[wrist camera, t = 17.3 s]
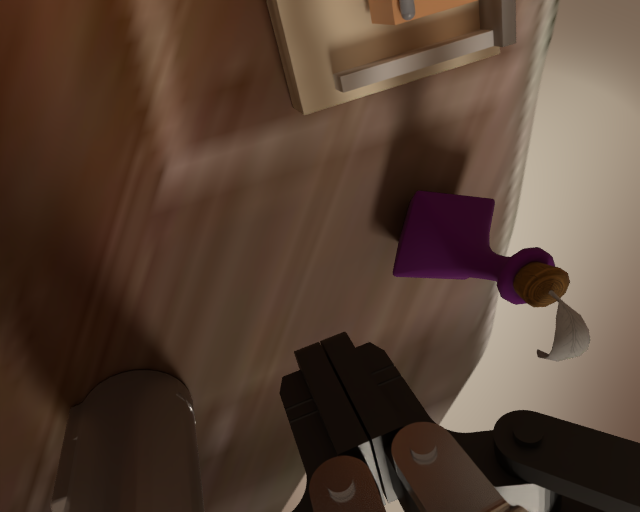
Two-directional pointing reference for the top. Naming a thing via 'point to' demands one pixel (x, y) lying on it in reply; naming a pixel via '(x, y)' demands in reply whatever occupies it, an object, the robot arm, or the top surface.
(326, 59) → the dock
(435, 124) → the top surface
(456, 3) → the orange box with handle
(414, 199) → the perfume bottle
